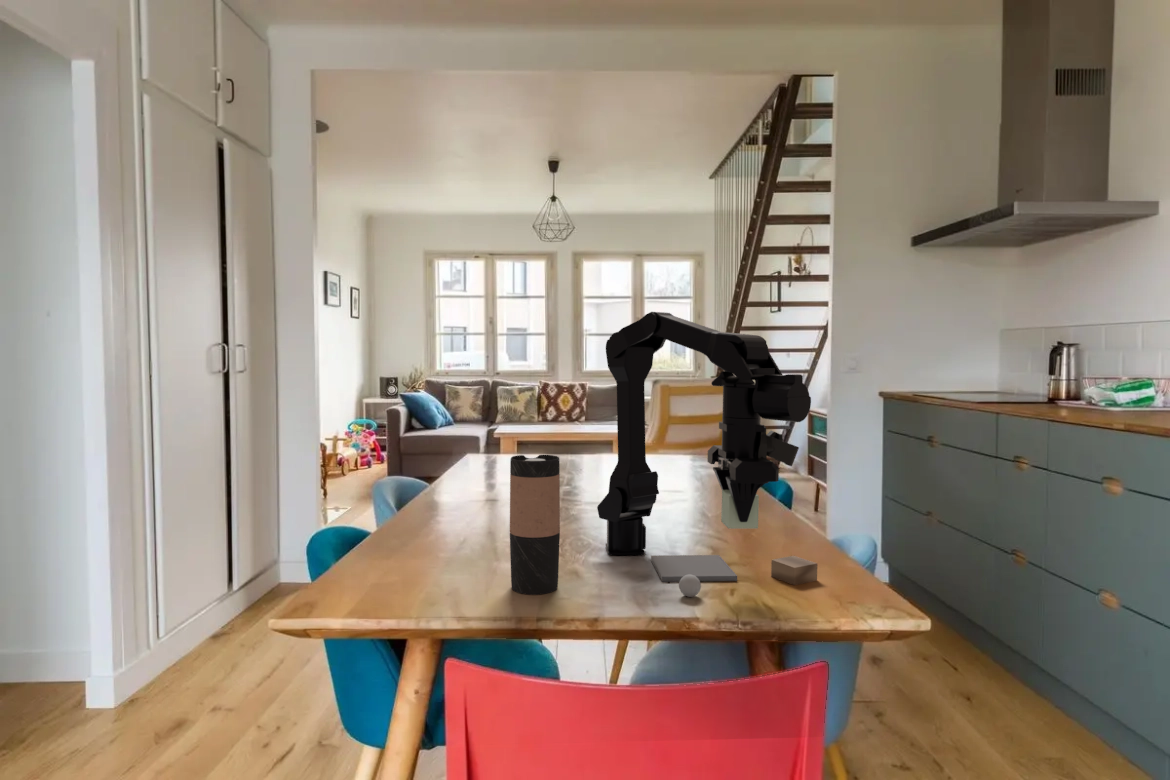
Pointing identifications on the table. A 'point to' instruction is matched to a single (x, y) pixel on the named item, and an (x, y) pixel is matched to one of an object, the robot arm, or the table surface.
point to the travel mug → (534, 523)
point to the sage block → (730, 514)
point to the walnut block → (794, 570)
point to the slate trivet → (692, 567)
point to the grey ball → (689, 585)
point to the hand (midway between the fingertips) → (739, 518)
